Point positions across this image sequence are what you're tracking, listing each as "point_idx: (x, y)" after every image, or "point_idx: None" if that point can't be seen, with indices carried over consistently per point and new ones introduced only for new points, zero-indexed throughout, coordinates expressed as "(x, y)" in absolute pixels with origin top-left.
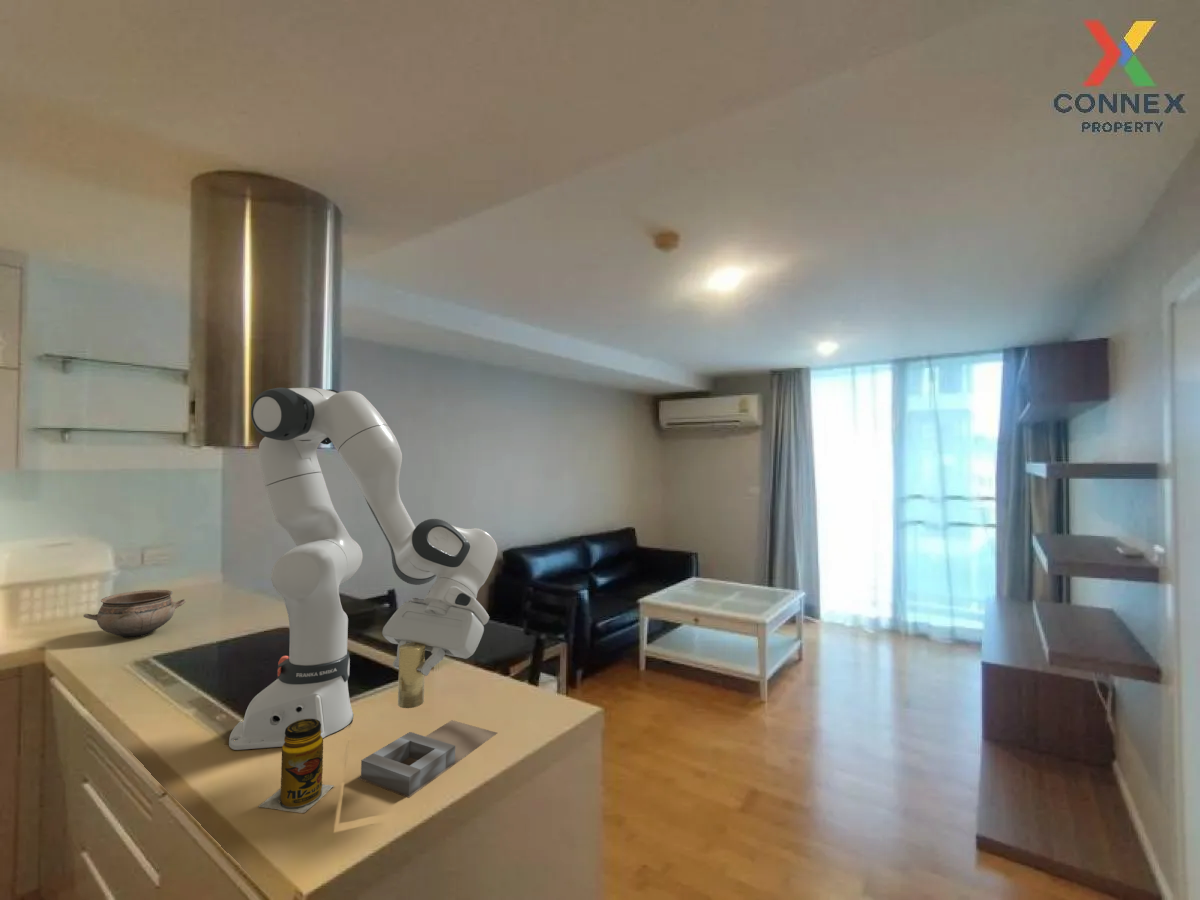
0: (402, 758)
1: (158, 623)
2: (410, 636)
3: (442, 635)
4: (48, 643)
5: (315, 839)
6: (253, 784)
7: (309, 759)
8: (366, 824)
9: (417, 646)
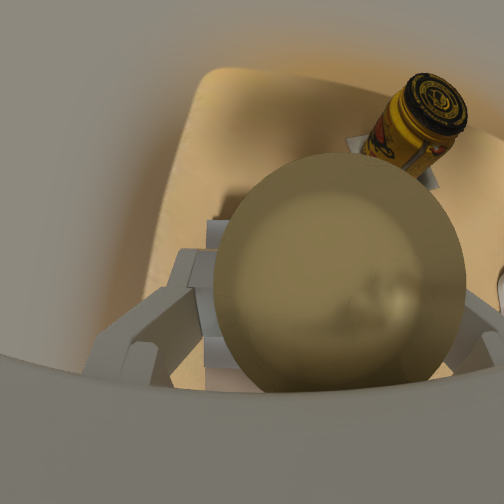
0: None
1: None
2: (496, 390)
3: (32, 469)
4: None
5: (276, 110)
6: (465, 164)
7: (383, 115)
8: (235, 159)
9: (303, 311)
